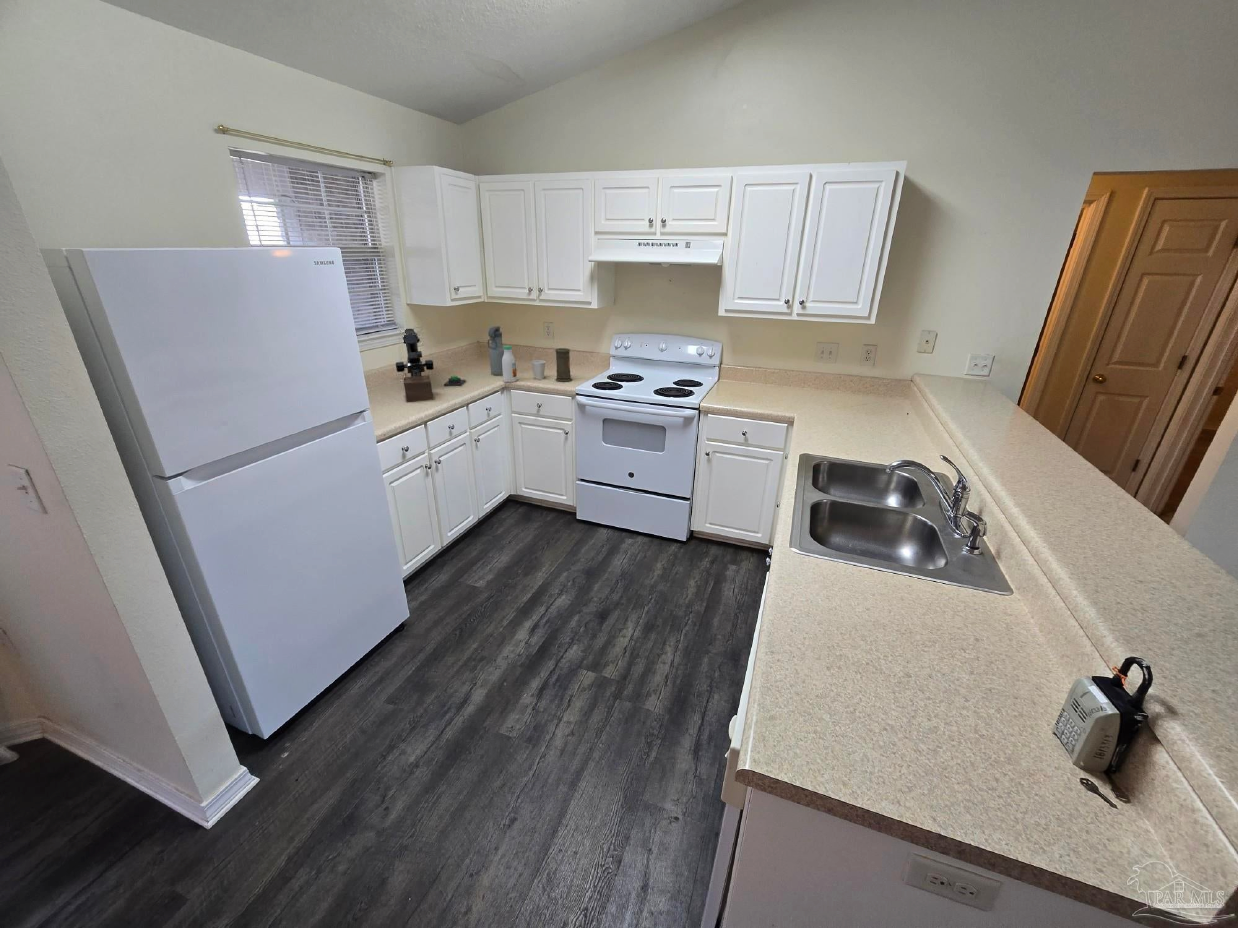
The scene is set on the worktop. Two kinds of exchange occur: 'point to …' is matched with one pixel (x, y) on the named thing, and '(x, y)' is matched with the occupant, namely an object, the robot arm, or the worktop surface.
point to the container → (563, 365)
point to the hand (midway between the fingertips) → (417, 379)
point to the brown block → (418, 388)
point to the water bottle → (496, 350)
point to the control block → (454, 382)
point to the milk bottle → (509, 365)
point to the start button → (454, 377)
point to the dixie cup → (538, 368)
